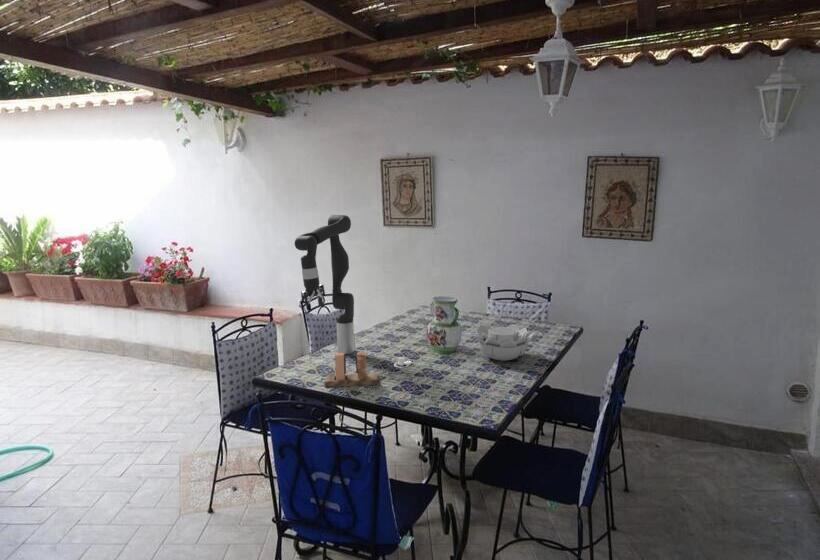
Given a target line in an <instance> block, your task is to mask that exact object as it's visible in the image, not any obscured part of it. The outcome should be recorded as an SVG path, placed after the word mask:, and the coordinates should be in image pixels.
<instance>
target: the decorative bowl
mask: <svg viewBox="0 0 820 560" xmlns="http://www.w3.org/2000/svg"><path fill="white" fill-rule="evenodd" d="M475 331H476V333H475V334H474V338H475V340H476V341H477V343H478V347H479V349H480V351H481V353H482V354H483V355H484V356H485V357H487V358H491V359H493V360H496V361H501V362H503V361H504V362H506V361H507V362H508V361H511V360H514V359H517V358H519V357H522V356H523V354H524V353H525V352H526V350H527V348H528V345H529V344H528V343H530V342H531V341H532V340H533V338H534V336H535V332H532V333H531V334H529V335H528V331H527V327H524V328H521V329H520V328H519V325H517V324H516V323H512V324H510V325H508V326H507V327H506V326H505V327H504V326H503V325H501V324H499V323H495V324H494V325H493V326H492V327H491V326H488V325H487V326H485V324H484V325H483V324H479V326H478V329H477V328H476V330H475Z"/></svg>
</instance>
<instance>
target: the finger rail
mask: <svg viewBox="0 0 820 560" xmlns="http://www.w3.org/2000/svg"><path fill="white" fill-rule="evenodd" d="M355 366H356V367H355V370H356V371H355V372H356V373H355V374H354V373H353V374H345V380H336V374H330V375H329V374H328V375H327V374H326V377H325V380H324V387H325V388H329V387H332V388H333V387H354V386H377V385H378V379H379V378H378V373H368V372H367V371H368V370H367V369H368V368H367V351H361V352H357V351H356V354H355Z"/></svg>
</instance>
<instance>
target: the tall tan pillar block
mask: <svg viewBox="0 0 820 560" xmlns="http://www.w3.org/2000/svg"><path fill="white" fill-rule="evenodd" d="M346 357H347V356H346V354H344V353H338V352H336V353H334V368H335V375H336V380H345V375H347V361H346Z"/></svg>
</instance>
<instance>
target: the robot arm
mask: <svg viewBox="0 0 820 560" xmlns="http://www.w3.org/2000/svg"><path fill="white" fill-rule="evenodd" d="M351 221H352V220H351V219H350V217H349V216H348V215H345V214H332V215H329V216H328V220H327V225H323V226H320V227H318V228H317V227H316V229H313V230H312V231H310V232H306V233H303V234H300V235H298V236H297V237H296V238H295V241H294V246H295V248H296V249H297V250H299V251H302V252H303V251H304V252H305V251H306V254H305V255H302V256H301V258H300V263H301V274H302V279H303V280H302V281H303V287H304V288H305V290H304V291H300V294H301V295H300V297H301V303H302V304H303V305H304V304H305V308H306V311H307V312H312V304H311V302H312V300H313V298H315V297H316V298H317V302H318V306H319V307H323V306H324V302H323V299H324V297H326V291H325V285H324V284H321V283H320V277H319V270H318V266H317V259H316V258H317V249H318V245H320V244H322V243H323V242H325V241H326V240H329V244H330V256H331V257H330V258H331V260H330V261H331V262H330V263H331V273H332V275H331V276H332V292H331V294H332V298H331V301H332V302H331V303H332V306H333V308H334V309H336V310H344V313H342V314H339V315H337V316H336V318H335V319H336V340H337V341H336V342H337V343H336V344H337V346H336V347H337V353H344V355H351V354H354V352H355V351H356V336H355V331H354V330H355V327H354V326H355V325H354V317H355V298H354V295H353V294H352V293H350V292H342V284H343V281H344V280H345V277H346V276H347V274H348V272H349V270H350V261H349V254H348V252H347V250H346V249H345V247H344V246H343V244H342V242H341V240H340V234H345V233H347V232H349V231H350V229H351V226H352V222H351Z"/></svg>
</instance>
